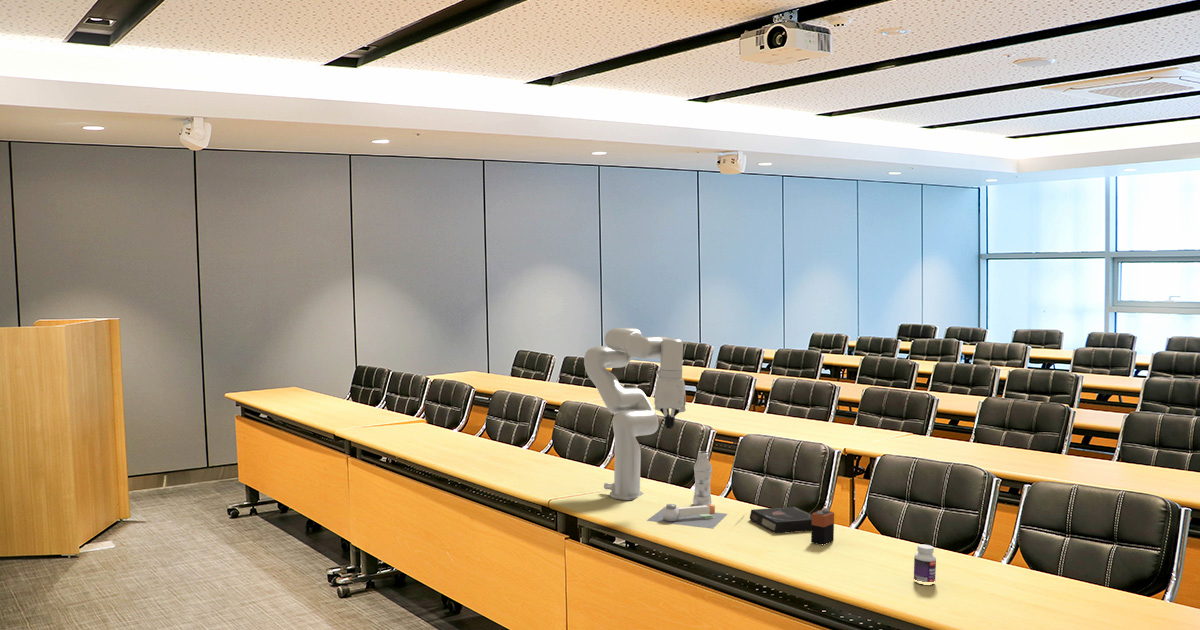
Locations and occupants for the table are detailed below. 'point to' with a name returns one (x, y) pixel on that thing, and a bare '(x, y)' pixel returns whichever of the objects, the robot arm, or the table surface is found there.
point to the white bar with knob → (685, 511)
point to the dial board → (692, 519)
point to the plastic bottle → (702, 480)
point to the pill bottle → (925, 564)
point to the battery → (822, 527)
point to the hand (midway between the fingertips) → (669, 427)
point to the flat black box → (782, 519)
